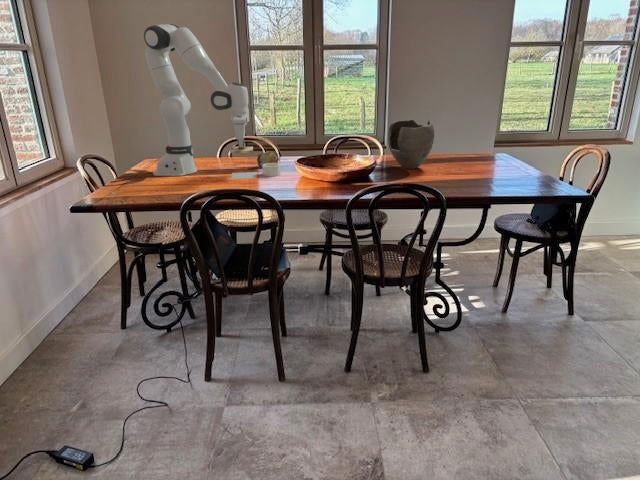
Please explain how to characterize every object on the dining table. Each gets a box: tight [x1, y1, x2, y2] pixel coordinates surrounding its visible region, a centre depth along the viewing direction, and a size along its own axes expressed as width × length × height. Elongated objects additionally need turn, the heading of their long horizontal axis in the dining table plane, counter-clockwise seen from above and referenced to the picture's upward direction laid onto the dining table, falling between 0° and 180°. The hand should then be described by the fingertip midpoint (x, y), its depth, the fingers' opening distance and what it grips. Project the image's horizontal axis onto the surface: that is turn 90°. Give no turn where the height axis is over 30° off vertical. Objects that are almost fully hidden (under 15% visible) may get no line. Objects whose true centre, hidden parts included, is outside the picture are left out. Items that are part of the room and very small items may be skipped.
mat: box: [230, 171, 258, 180], centre depth 238 cm, size 13×13×1 cm
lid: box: [229, 139, 254, 154], centre depth 232 cm, size 11×11×5 cm
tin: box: [256, 150, 279, 169], centre depth 256 cm, size 15×3×8 cm, turn 143°
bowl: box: [261, 162, 281, 178], centre depth 238 cm, size 9×9×5 cm
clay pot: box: [387, 119, 435, 170], centre depth 246 cm, size 24×24×25 cm
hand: (241, 146), depth 232 cm, fingers closed on lid, 3 cm apart
